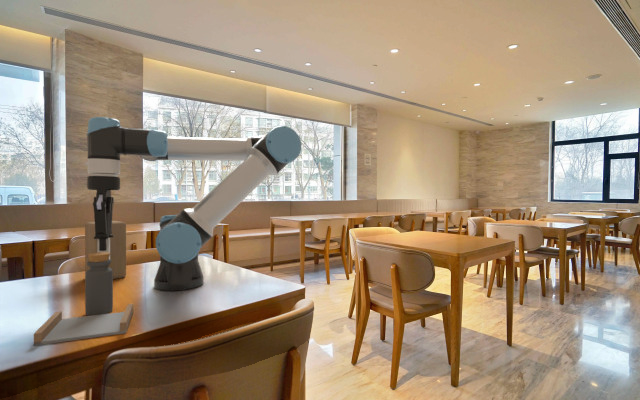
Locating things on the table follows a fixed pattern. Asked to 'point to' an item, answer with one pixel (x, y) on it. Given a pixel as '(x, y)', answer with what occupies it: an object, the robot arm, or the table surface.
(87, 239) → the wooden block
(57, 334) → the grey tray
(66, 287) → the table surface
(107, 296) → the bottle
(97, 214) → the robot arm
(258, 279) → the table surface
